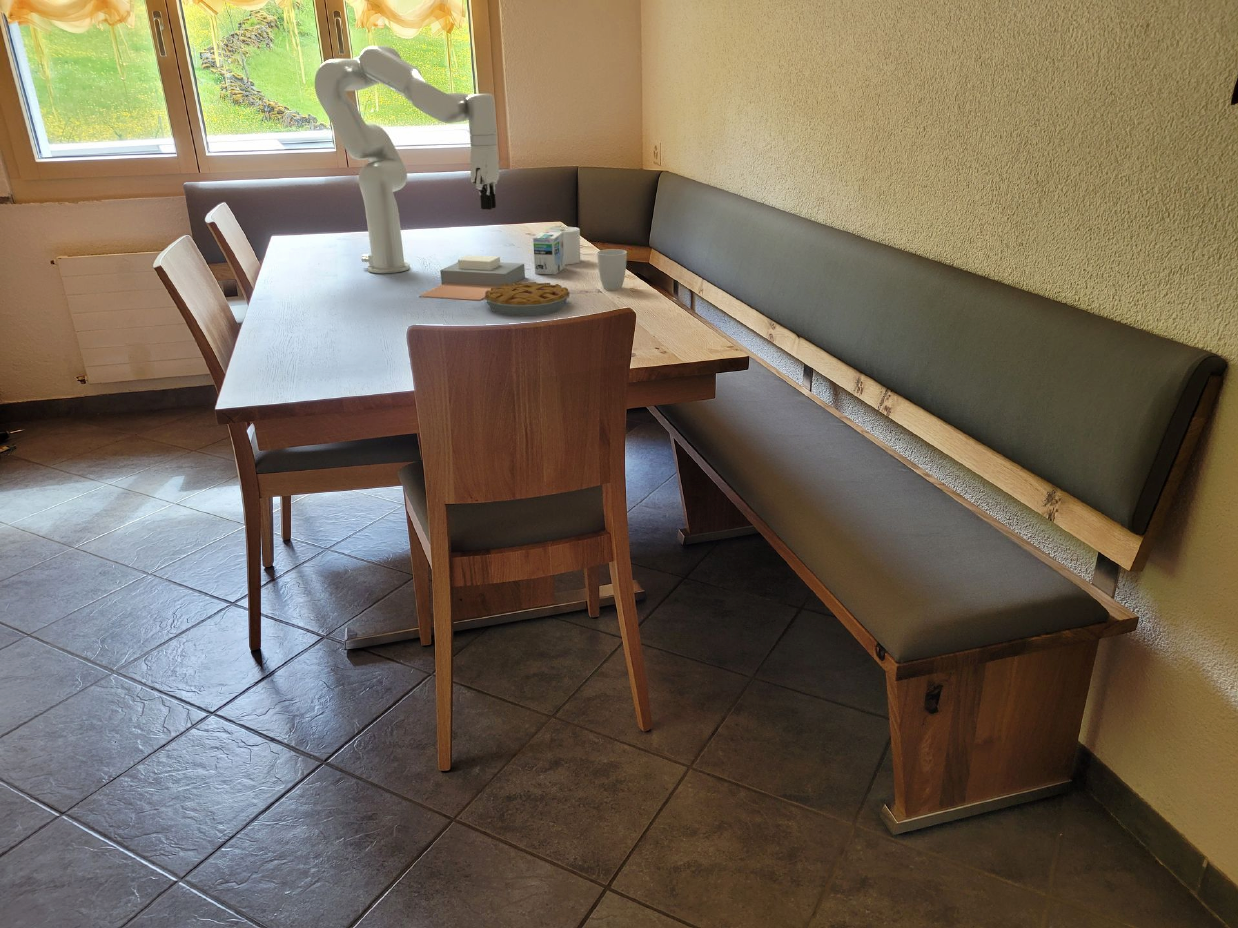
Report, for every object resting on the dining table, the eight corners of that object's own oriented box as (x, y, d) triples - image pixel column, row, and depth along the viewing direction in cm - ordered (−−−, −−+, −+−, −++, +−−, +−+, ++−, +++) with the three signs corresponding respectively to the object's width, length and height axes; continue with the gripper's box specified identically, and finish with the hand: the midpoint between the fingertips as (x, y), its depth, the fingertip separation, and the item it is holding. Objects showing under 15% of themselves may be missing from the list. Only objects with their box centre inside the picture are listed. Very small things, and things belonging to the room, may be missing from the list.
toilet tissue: (560, 266, 271) (559, 233, 267) (537, 261, 279) (536, 229, 275) (587, 261, 277) (586, 229, 273) (564, 256, 286) (563, 225, 281)
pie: (536, 322, 214) (535, 302, 212) (467, 311, 224) (465, 292, 222) (586, 303, 231) (585, 284, 228) (520, 293, 241) (519, 275, 239)
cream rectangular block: (458, 268, 252) (457, 260, 251) (469, 263, 258) (468, 255, 257) (490, 270, 249) (489, 261, 248) (500, 265, 255) (499, 256, 254)
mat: (419, 296, 238) (419, 295, 238) (444, 284, 251) (444, 283, 251) (479, 300, 233) (479, 299, 233) (502, 288, 246) (502, 286, 246)
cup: (630, 286, 246) (630, 250, 242) (621, 292, 239) (621, 255, 235) (603, 284, 249) (603, 248, 245) (593, 290, 242) (592, 254, 238)
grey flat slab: (441, 284, 251) (440, 270, 250) (463, 273, 263) (462, 260, 262) (506, 288, 246) (505, 273, 244) (525, 277, 258) (524, 263, 256)
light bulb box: (555, 275, 260) (554, 238, 256) (534, 274, 262) (532, 237, 257) (565, 267, 270) (563, 231, 265) (544, 266, 271) (542, 231, 267)
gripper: (483, 139, 255) (488, 204, 263) (459, 143, 241) (464, 212, 249) (507, 139, 253) (511, 205, 261) (484, 144, 239) (489, 213, 247)
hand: (488, 208), depth 255 cm, fingers closed
